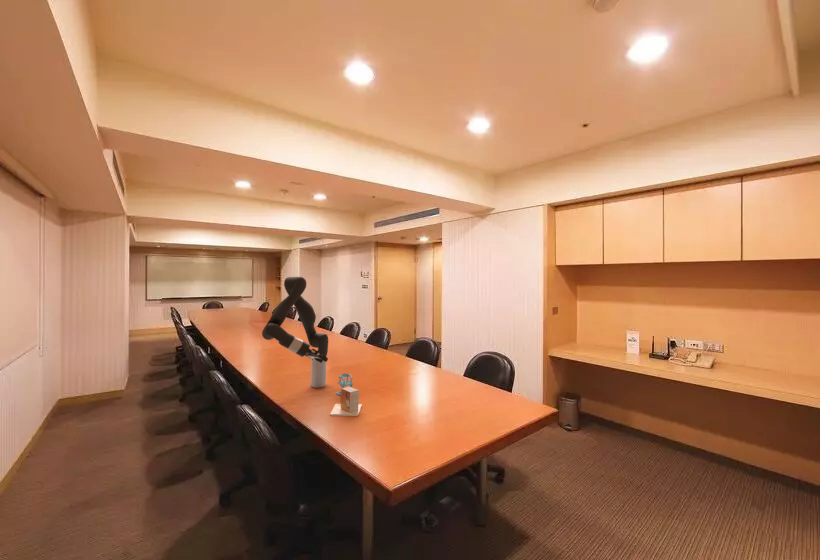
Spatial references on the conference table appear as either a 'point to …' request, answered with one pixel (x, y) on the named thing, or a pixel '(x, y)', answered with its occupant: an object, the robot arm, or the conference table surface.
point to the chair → (344, 383)
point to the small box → (349, 399)
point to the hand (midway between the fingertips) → (324, 360)
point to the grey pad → (340, 412)
